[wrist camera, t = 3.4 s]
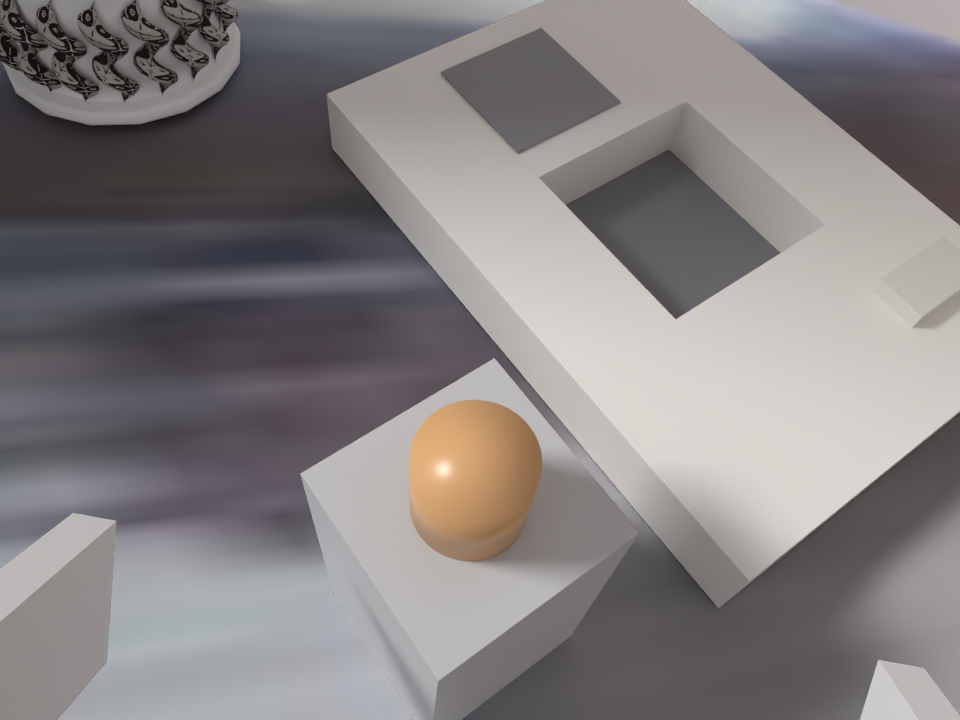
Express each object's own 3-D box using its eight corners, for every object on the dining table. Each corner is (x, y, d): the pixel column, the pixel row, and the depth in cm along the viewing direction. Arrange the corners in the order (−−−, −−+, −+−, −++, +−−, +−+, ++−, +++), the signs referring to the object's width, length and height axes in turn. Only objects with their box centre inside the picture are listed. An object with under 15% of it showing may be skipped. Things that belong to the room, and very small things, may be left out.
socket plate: (332, 148, 31) (324, 79, 28) (624, 15, 36) (641, -53, 33) (718, 608, 23) (757, 574, 21) (1022, 361, 28) (1086, 307, 26)
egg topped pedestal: (333, 593, 23) (287, 425, 14) (471, 503, 24) (503, 302, 16) (429, 744, 21) (441, 654, 13) (570, 636, 23) (666, 491, 14)
